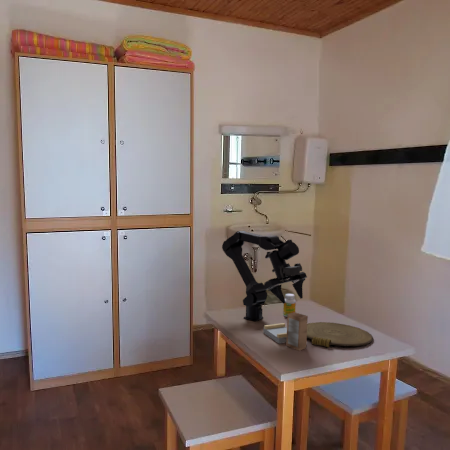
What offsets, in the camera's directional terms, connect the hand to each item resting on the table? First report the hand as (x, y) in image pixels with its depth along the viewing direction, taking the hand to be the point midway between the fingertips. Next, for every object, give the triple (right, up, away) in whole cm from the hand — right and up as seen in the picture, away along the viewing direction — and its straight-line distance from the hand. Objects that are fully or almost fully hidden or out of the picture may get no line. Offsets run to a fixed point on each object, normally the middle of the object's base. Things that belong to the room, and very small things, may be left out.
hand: (293, 300), depth 173 cm
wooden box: (-1, -14, -14) cm, 20 cm away
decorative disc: (+16, -14, -1) cm, 22 cm away
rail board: (-5, -13, -4) cm, 15 cm away
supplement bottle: (+2, -11, +23) cm, 26 cm away
